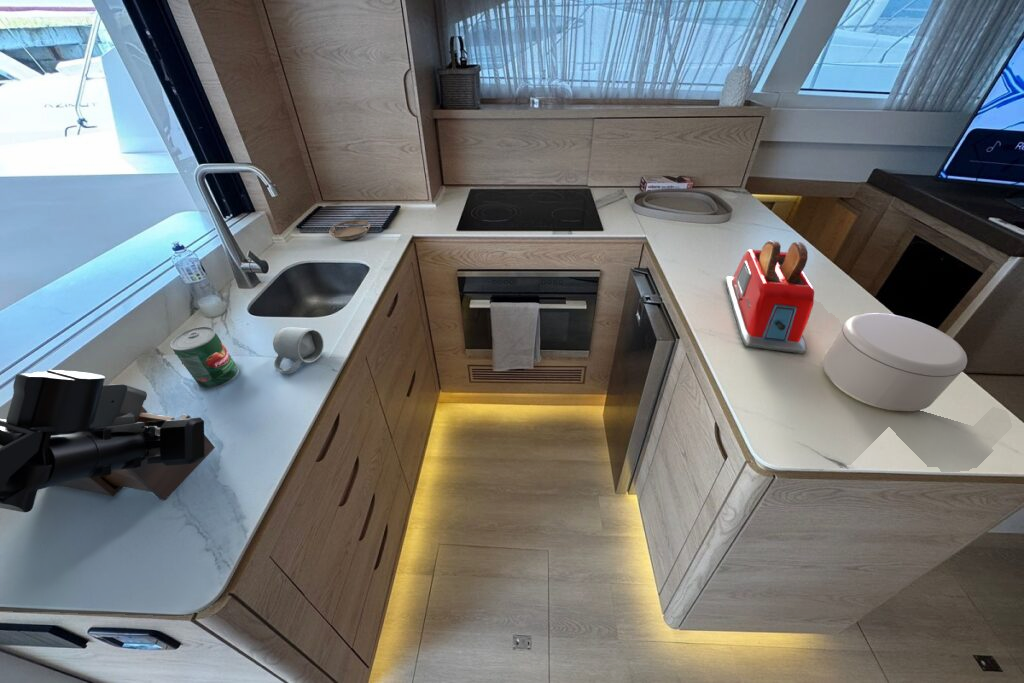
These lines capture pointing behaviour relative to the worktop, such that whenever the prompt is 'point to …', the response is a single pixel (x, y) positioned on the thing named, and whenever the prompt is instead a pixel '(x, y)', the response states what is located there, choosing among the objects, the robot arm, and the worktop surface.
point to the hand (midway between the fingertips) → (180, 435)
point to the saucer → (350, 230)
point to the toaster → (772, 297)
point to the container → (893, 361)
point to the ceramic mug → (297, 347)
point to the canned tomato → (205, 357)
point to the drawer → (155, 469)
